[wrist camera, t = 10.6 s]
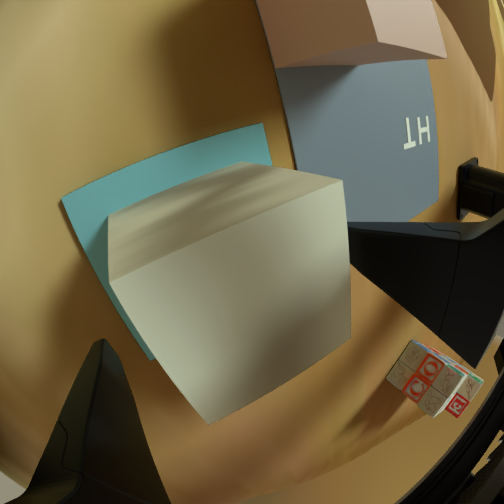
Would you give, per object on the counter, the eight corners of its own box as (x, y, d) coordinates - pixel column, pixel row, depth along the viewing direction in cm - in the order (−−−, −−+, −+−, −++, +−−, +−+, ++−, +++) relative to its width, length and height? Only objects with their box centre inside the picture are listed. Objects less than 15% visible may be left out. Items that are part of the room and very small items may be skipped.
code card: (406, -8, 12) (407, -9, 12) (437, 199, 22) (438, 200, 22) (237, -53, 7) (238, -54, 7) (313, 278, 17) (315, 279, 17)
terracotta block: (333, -17, 10) (413, -43, 5) (358, 65, 13) (447, 58, 8) (246, -29, 8) (325, -86, 3) (275, 68, 11) (378, 41, 6)
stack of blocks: (382, 378, 31) (449, 431, 21) (410, 338, 30) (481, 387, 20) (421, 376, 43) (464, 409, 33) (438, 349, 42) (484, 380, 32)
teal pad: (259, 123, 12) (262, 122, 12) (293, 283, 16) (295, 285, 16) (62, 196, 9) (61, 198, 9) (149, 357, 13) (150, 360, 13)
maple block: (241, 161, 12) (342, 180, 7) (269, 274, 15) (350, 337, 10) (108, 214, 10) (108, 282, 5) (164, 327, 13) (208, 424, 8)
